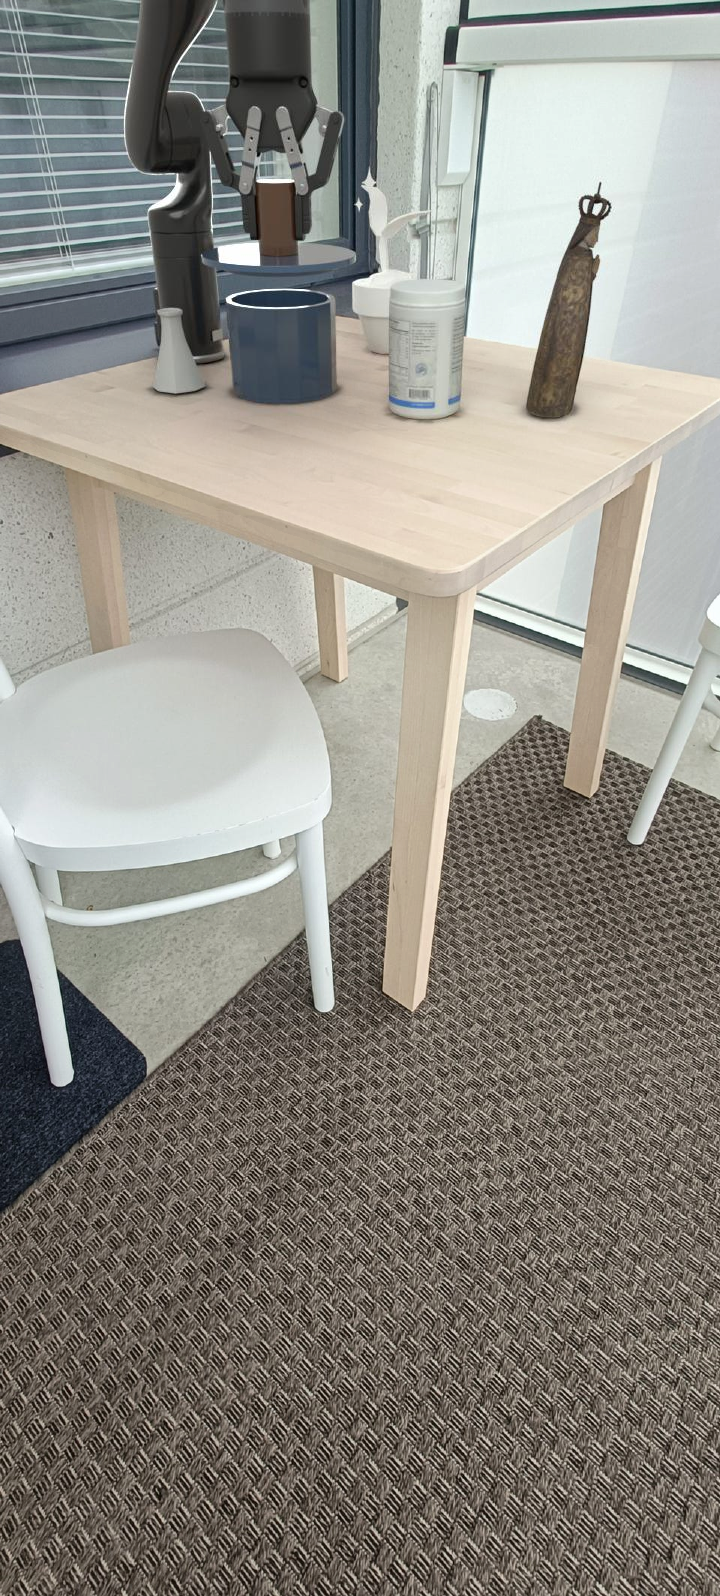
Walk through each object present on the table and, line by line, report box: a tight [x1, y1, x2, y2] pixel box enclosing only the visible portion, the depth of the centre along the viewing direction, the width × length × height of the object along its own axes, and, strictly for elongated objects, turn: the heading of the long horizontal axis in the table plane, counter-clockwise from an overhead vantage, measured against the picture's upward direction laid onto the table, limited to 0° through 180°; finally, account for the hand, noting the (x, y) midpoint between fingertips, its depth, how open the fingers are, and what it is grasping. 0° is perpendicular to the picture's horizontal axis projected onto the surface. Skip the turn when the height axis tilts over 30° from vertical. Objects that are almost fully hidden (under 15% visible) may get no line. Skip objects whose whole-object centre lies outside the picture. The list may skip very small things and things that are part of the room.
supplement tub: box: [388, 278, 467, 420], centre depth 112 cm, size 10×10×15 cm
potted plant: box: [351, 166, 432, 355], centre depth 136 cm, size 13×12×25 cm
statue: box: [525, 181, 612, 419], centre depth 109 cm, size 9×8×25 cm
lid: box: [201, 178, 357, 278], centre depth 87 cm, size 16×16×7 cm
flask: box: [151, 308, 207, 394], centre depth 122 cm, size 7×7×10 cm
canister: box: [224, 288, 338, 405], centre depth 121 cm, size 15×15×12 cm
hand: (277, 238), depth 88 cm, fingers closed on lid, 4 cm apart
